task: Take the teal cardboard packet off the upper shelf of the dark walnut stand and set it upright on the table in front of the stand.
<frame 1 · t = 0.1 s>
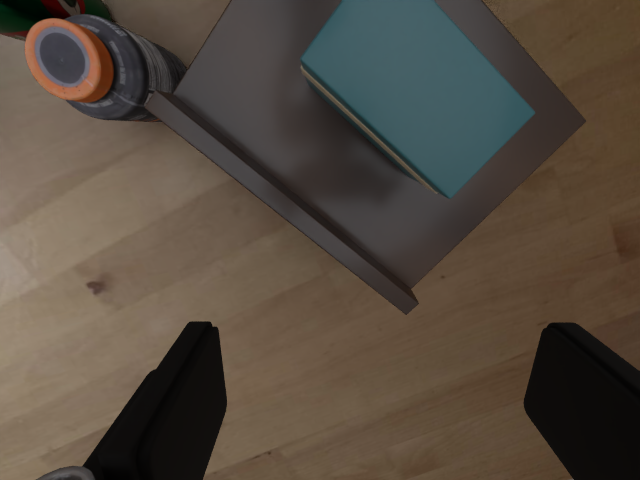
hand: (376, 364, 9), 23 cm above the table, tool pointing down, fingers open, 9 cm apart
packet: (386, 101, 19), point 10 cm above the table, touching shelf
pill bottle: (160, 86, 28), on the table
soda can: (87, 26, 27), on the table
shelf: (357, 120, 29), on the table
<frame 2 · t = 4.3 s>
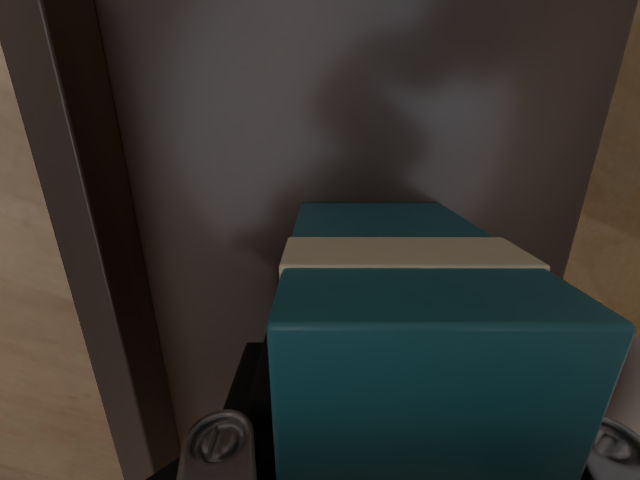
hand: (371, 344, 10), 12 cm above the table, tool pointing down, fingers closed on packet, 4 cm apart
packet: (364, 313, 12), point 10 cm above the table, touching gripper, shelf
shelf: (330, 232, 21), on the table
when the fingers open (2 cm above the table, at t = 13.3 s): packet stays where it is, on the table.
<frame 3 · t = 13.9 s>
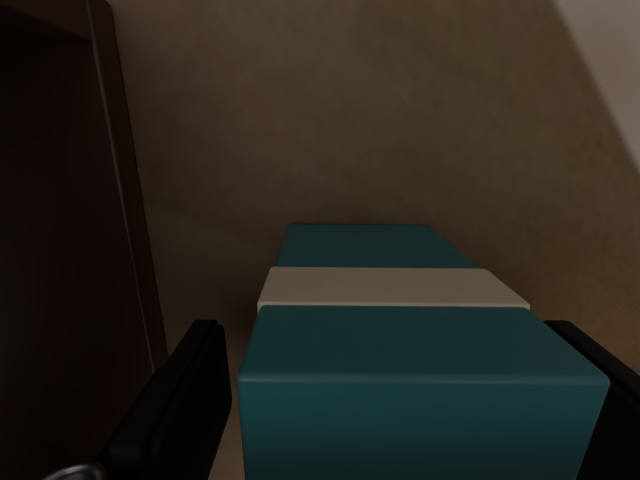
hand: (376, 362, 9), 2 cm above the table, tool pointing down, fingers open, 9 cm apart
packet: (353, 334, 12), on the table
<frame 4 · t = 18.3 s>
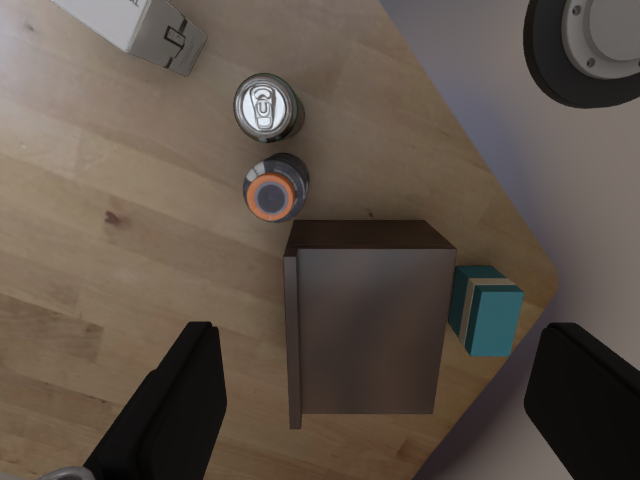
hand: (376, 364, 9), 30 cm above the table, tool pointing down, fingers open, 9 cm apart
packet: (469, 294, 43), on the table
pill bottle: (284, 178, 38), on the table
ink box: (162, 31, 33), on the table
soda can: (282, 115, 36), on the table
shelf: (356, 292, 43), on the table
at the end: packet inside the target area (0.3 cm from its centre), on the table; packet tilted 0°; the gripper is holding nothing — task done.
